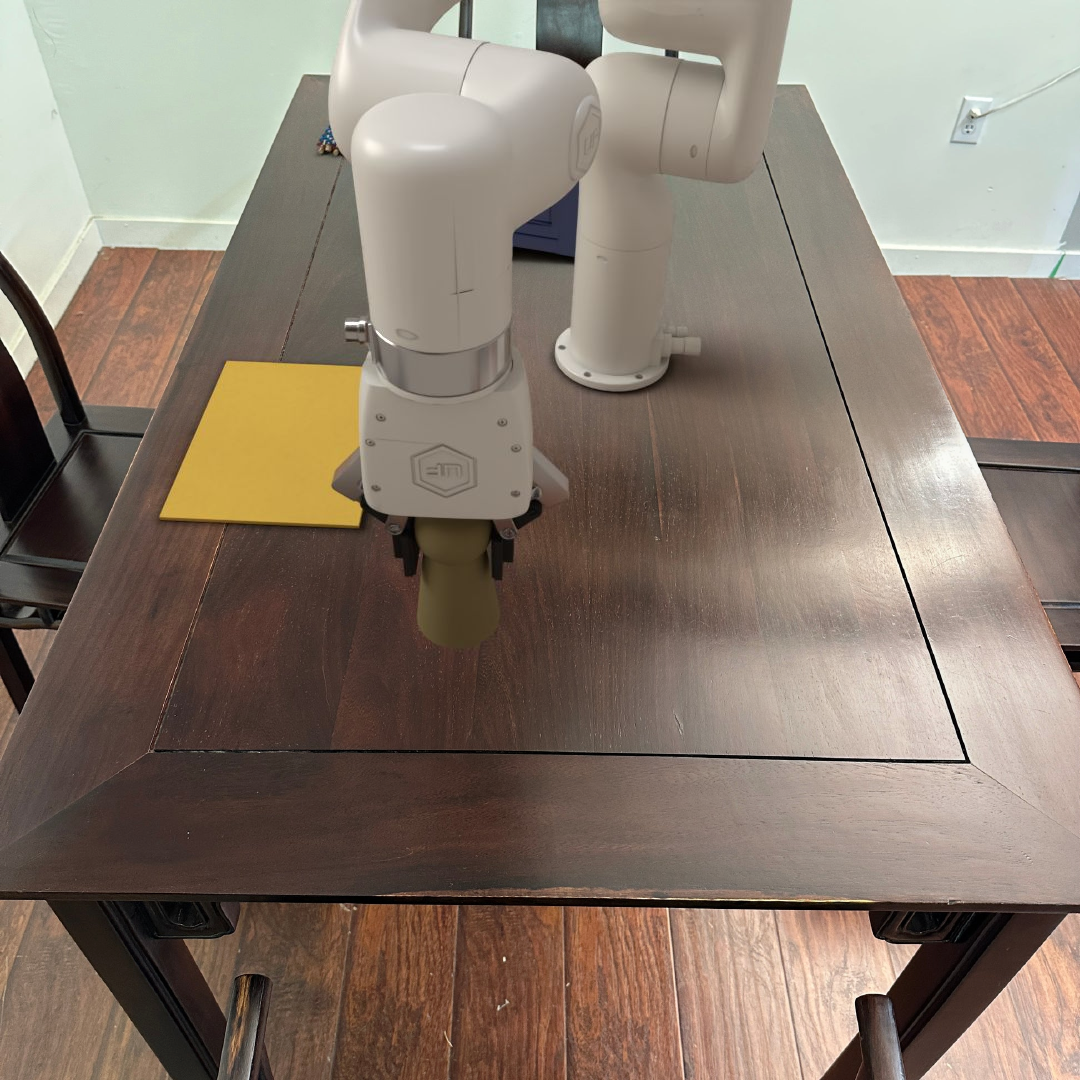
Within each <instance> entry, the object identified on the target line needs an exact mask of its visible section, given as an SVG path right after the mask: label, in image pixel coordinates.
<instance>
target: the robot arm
mask: <svg viewBox="0 0 1080 1080" xmlns="http://www.w3.org/2000/svg"><path fill="white" fill-rule="evenodd" d="M462 1H463V0H350V2H349V5H348V9H347V12H346V15H345V18H344V21H343V23H342V27H341V30H340V34H339V37H338V41H337V45H336V49H335V52H334V58H333V62H332V66H331V71H330V76H329V82H328V83H329V85H328V98H327V99H328V100H327V108H328V111H327V112H328V120H329V125H330V126H331V130H332V135H333V137H334V140H335V142H336V144H337V146H338V148H339V150H340V151H339V153H340V154H342V156H343V157H344V158H345V159H346V160H347V162H348V163H350V164H351V170H352V179H353V186H354V196H355V202H356V211H357V217H358V227H359V234H360V244H361V252H362V260H363V269H364V277H365V283H366V284H365V285H366V293H367V302H368V309H367V312H366V315H360V316H359V317H346V318H345V321H344V338H345V342H346V343H351V344H352V343H354V344H355V343H356V344H359V345H360V346H364V347H366V348H367V351H368V352H367V355H366V357H365V359H364V362H363V364H362V366H361V367H362V371H361V379H360V388H359V440H360V446H359V447H358V448H357V449H356V450H355V451H354V452H353V453H352V454H351V455H350V456H349V457H348V458H347V459H346V460H345V461H344V462H343V463H342V464H341V465H340V466H339V467H338V468H337V469H336V470H335V472H334V476H333V480H332V484H331V487H332V488H333V489H334V490H335V491H337V492H338V493H340V494H342V495H343V496H345V497H347V498H349V499H350V500H352V501H354V502H355V501H357V502H359V503H360V507H361V508H362V509H363V511H365V512H366V513H368V514H369V515H370V516H372V517H373V518H375V519H376V520H378V521H379V522H381V523H382V524H384V531H385V532H386V533H388V534H389V535H391V538H392V539H391V540H392V546H393V553H394V554H393V555H394V559H402V563H403V565H402V566H403V572H404V574H403V575H404V577H405V578H413V577H414V576H416V575H417V572H418V571H417V570H418V565H419V559H420V558H419V557H420V552H421V549H420V548H419V546H418V544H417V542H416V538H415V535H414V527H413V525H414V520H415V517H435V518H461V519H492V520H493V527H492V537H491V541H490V558H491V559H490V561H491V563H490V567H491V572H492V578H493V579H494V581H503V575H504V563H507V564H508V563H509V564H513V563H514V559H515V558H514V557H515V539H516V538H517V537H518V534H519V530H521V529H522V528H524V527H525V526H526V525H529V524H530V523H532V522H534V520H536V519H537V518H539V517H540V516H541V515H542V514H543V511H545V510H550V509H551V508H554V507H556V506H557V505H560V504H561V503H563V502H565V501H566V500H568V499H569V498H570V487H571V486H570V484H571V483H570V479H569V478H568V477H567V476H566V475H565V474H564V473H563V472H562V471H561V470H560V469H559V468H558V467H557V466H556V465H555V464H554V463H553V462H552V461H551V460H550V459H549V458H548V457H546V455H544V453H543V452H541V451H540V450H539V449H538V448H537V447H536V446H535V445H534V427H533V411H532V401H531V393H530V387H529V386H530V385H529V380H528V376H527V371H526V365H525V363H524V359H523V356H522V353H521V351H520V350H519V349H518V347H517V346H516V345H515V344H513V246H512V238H513V233H514V231H515V230H516V229H517V228H519V227H520V226H521V225H523V224H524V223H526V222H527V221H529V220H531V219H532V218H534V217H535V216H537V215H538V214H540V213H542V212H543V211H545V210H546V209H548V208H549V207H551V206H552V205H554V204H555V203H557V202H558V201H559V200H560V199H562V198H563V197H564V196H565V195H566V194H567V193H568V192H569V191H570V190H571V189H572V188H573V187H574V186H575V185H576V183H577V182H578V181H579V204H578V221H577V235H576V251H575V257H574V265H573V266H574V267H573V269H574V270H573V284H572V299H571V315H570V326H569V327H568V328H566V329H565V330H564V331H563V332H562V333H560V335H559V336H558V337H557V339H556V341H555V346H554V359H555V362H556V365H557V366H558V368H559V369H560V370H561V372H562V373H563V374H564V375H565V376H567V377H568V378H569V379H571V380H572V381H574V382H576V383H578V384H580V385H582V386H585V387H588V388H589V389H590V388H591V389H595V390H598V391H605V392H606V391H607V392H628V391H635V390H639V389H643V388H646V387H649V386H650V385H653V384H654V383H656V382H657V381H659V380H660V379H661V378H662V377H663V376H664V375H665V374H666V371H667V369H668V367H669V363H670V357H671V355H682V356H698V357H699V356H700V355H701V351H702V338H701V337H695V336H694V337H693V336H692V337H691V336H689V334H688V333H689V327H688V326H681V325H680V326H677V325H676V326H667V323H663V319H662V317H663V316H662V311H663V304H664V297H665V292H666V291H665V290H666V283H667V275H668V268H669V261H670V255H671V249H672V248H671V247H672V240H673V234H674V228H675V221H676V220H675V219H676V217H675V216H676V213H675V205H674V201H673V196H672V194H671V190H670V188H669V186H668V183H667V182H666V180H665V177H664V176H663V175H666V176H667V175H668V176H674V177H680V178H685V179H690V180H697V181H703V182H708V183H716V184H725V185H726V184H727V185H731V184H738V183H742V182H743V181H746V180H747V179H748V178H750V177H751V175H753V174H754V172H755V171H756V169H757V168H758V165H759V164H760V161H761V159H762V155H763V153H764V151H765V147H766V143H767V139H768V134H769V129H770V124H771V120H772V115H773V109H774V103H775V98H776V93H777V87H778V81H779V76H780V71H781V67H782V61H783V56H784V51H785V45H786V40H787V34H788V31H789V30H788V29H789V26H790V25H789V24H790V20H791V19H790V18H791V12H792V8H793V0H597V5H598V6H597V7H598V13H599V18H600V21H601V24H602V27H603V28H604V29H605V30H606V32H607V33H608V34H609V35H610V36H612V37H613V38H616V39H617V40H620V41H623V42H626V43H629V44H630V43H631V44H634V45H638V46H643V47H648V48H654V49H660V50H667V51H668V50H669V51H674V52H681V53H688V54H695V55H701V56H707V57H708V56H709V57H714V58H716V59H718V60H719V62H720V64H715V63H706V62H703V61H702V62H701V61H694V60H687V59H684V58H680V57H673V56H666V55H659V54H652V53H645V52H637V51H636V52H635V51H621V52H620V51H618V52H617V51H616V52H615V51H614V52H609V53H606V54H603V55H601V56H598V57H597V58H595V59H593V60H591V62H590V63H589V64H588V65H587V66H586V67H585V68H584V67H583V66H582V65H580V64H578V63H577V62H575V61H574V60H572V59H570V58H568V57H565V56H563V55H560V54H556V53H553V52H549V51H543V50H538V49H532V48H526V47H520V46H513V45H506V44H499V43H493V42H491V41H487V40H480V39H473V38H467V37H459V36H453V35H446V34H440V33H434V32H432V30H433V29H434V27H435V25H436V24H437V23H438V22H439V21H440V20H441V19H442V18H443V16H444V15H446V14H447V13H448V12H449V11H450V10H451V9H452V8H453V7H455V6H456V5H457V4H458V3H460V2H462ZM533 484H535V485H536V486H533Z"/></svg>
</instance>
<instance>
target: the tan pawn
mask: <svg viewBox="0 0 1080 1080" xmlns="http://www.w3.org/2000/svg"><path fill="white" fill-rule="evenodd" d="M413 527H414V535H415V538H416V542H417V544H418V546H419V548H420V551H422V559H421V561H422V562H421V570H420V581H419V591H418V600H417V602H418V603H417V611H416V621H417V626H418V629H419V631H420V632H421V633H422V634H423V636H424V638H426V639H427V640H429V641H430V642H432V643H433V644H435V645H437V646H439V647H443V648H446V649H458V650H461V649H466V648H472V647H475V646H477V645H480V644H481V643H483V642H485V641H487V640H488V639H489V638H490V637H492V635H493V634H494V633H495V632H496V630H497V628H498V627H499V624H500V619H501V618H500V617H501V610H500V605H499V604H500V603H499V600H498V595H497V591H496V586H495V582H494V581H495V580H494V578H492V569H491V563H490V557H489V554H488V550H487V549H488V547H489V545H490V544H491V537H492V527H493V520H492V519H461V518H435V517H415V520H414V525H413Z"/></svg>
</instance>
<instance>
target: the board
mask: <svg viewBox="0 0 1080 1080" xmlns="http://www.w3.org/2000/svg"><path fill="white" fill-rule="evenodd" d="M361 371H362V366H358V365H357V366H356V365H337V364H336V365H335V364H334V365H333V364H313V363H312V364H311V363H309V364H308V363H287V362H267V361H265V362H263V361H245V360H243V361H242V360H241V361H240V360H226V362H225V364H224V366H223V369H222V370H221V373H220V376H219V378H218V380H217V382H216V384H215V387H214V389H213V392H212V394H211V397H210V399H209V401H208V403H207V405H206V408H205V410H204V412H203V415H202V417H201V419H200V422H199V424H198V425H197V426H198V427H197V429H196V431H195V433H194V436H193V438H192V440H191V442H190V445H189V447H188V449H187V452H186V454H185V455H184V459H183V460H182V463H181V466H180V468H179V470H178V472H177V475H176V477H175V479H174V481H173V484H172V486H171V489H170V490H169V493H168V495H167V498H166V500H165V502H164V504H163V507H162V509H161V511H160V514H159V516H158V518H159V521H176V522H195V523H196V522H197V523H198V522H199V523H219V524H220V523H223V524H224V523H225V524H243V525H268V526H289V527H290V526H292V527H312V528H313V527H315V528H316V527H317V528H336V529H337V528H338V529H360V526H361V522H362V516H363V512H364V510H363V509H362V508H361V507H360V503H359V502H357V501H355V502H354V501H352V500H350V499H349V498H347V497H345V496H343V495H342V494H340V493H338V492H337V491H335V490H334V489H333V488H332V487H331V484H332V480H333V476H334V472H335V470H336V469H337V468H338V467H339V466H340V465H341V464H342V463H343V462H344V461H345V460H346V459H347V458H348V457H349V456H350V455H351V454H352V453H353V452H354V451H355V450H356V449H357V448H358V447H359V446H360V440H359V388H360V379H361Z"/></svg>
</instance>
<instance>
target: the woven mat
mask: <svg viewBox="0 0 1080 1080" xmlns="http://www.w3.org/2000/svg"><path fill="white" fill-rule="evenodd" d="M316 147H319V149H318V150H317V152H318V153H319V155H322V154H324V152H325V151H326V152H331V151H333V153H332V154H333V155H334V156H335V157H336V156H338V155H339V154H340V150H339V148H338V146H337V144H336V142H335V140H334V137H333V135H332V130H331V126H330V124H329V125H328V126H327V129H325V130H324V133H322V135H321V137H320V138H319V139H318V142H317V143H316Z"/></svg>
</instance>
